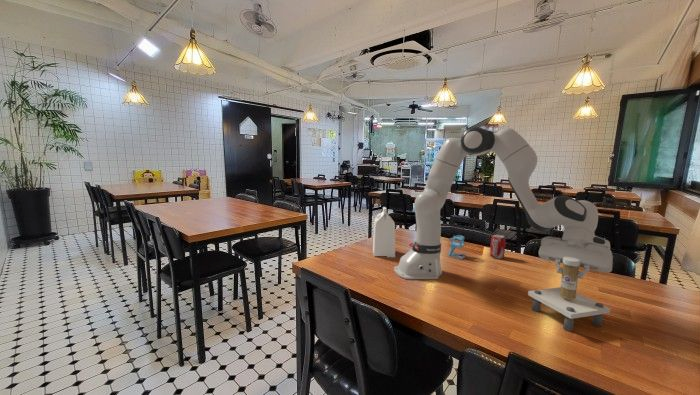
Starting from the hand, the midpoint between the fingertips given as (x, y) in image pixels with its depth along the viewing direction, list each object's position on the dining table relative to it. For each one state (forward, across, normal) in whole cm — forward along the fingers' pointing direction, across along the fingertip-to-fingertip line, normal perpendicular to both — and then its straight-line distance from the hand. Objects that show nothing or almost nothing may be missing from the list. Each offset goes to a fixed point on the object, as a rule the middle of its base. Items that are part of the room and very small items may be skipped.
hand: (569, 275), depth 98 cm
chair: (-13, -53, +35) cm, 65 cm away
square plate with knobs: (+10, 0, +11) cm, 15 cm away
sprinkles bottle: (+5, 0, +6) cm, 8 cm away
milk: (+5, -84, +17) cm, 86 cm away
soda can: (-23, -37, +45) cm, 63 cm away
